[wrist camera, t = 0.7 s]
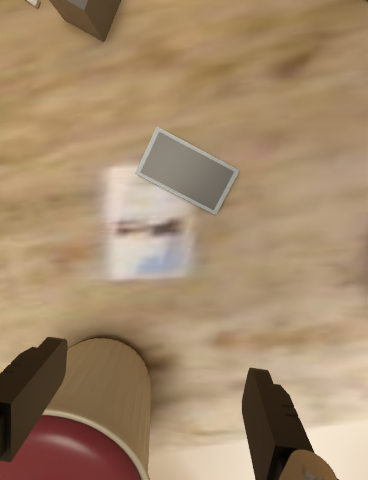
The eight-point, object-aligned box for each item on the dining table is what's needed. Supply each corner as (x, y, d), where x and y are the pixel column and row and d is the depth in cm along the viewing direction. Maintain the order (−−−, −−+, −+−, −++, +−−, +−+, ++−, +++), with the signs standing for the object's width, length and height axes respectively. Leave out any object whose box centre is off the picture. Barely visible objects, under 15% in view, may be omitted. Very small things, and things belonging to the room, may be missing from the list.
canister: (110, 443, 43) (35, 680, 23) (22, 369, 41) (-150, 557, 20) (193, 375, 40) (194, 576, 20) (103, 291, 38) (-1, 418, 17)
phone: (159, 130, 34) (156, 126, 32) (236, 171, 35) (239, 170, 33) (138, 174, 35) (135, 173, 33) (214, 213, 36) (215, 215, 34)
